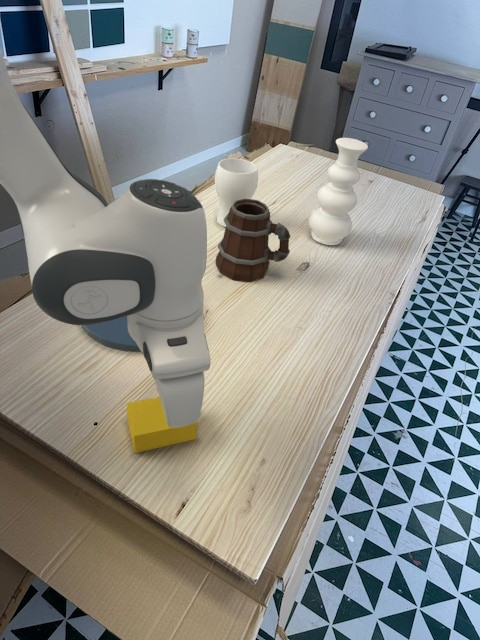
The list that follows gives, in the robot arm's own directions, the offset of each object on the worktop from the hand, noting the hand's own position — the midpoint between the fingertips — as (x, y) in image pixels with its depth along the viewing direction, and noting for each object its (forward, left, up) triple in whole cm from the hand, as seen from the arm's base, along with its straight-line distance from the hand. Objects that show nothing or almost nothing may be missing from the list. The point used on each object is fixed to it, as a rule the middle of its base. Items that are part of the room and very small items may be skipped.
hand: (164, 392), depth 64 cm
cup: (+32, +60, -8) cm, 68 cm away
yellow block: (0, 0, -8) cm, 8 cm away
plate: (+2, +28, -8) cm, 29 cm away
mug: (+29, +38, -8) cm, 48 cm away
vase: (+54, +48, -8) cm, 73 cm away
